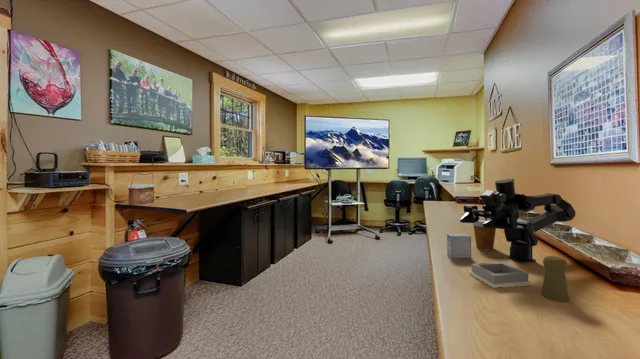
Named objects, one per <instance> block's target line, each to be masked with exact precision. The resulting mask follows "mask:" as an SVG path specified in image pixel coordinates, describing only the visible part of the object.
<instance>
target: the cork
mask: <svg viewBox="0 0 640 359" xmlns="http://www.w3.org/2000/svg"><path fill="white" fill-rule="evenodd" d="M542 263H543V266H544V268H545V270H544V276H543V280H542V287H541V293H540V295H541V297H543V298H544V299H547V300H549V301H553V302H559V303H567V302H569V301H570V295H569V290H568V283H567V277H566V270H567V268H568V262H567V260H566V259H565V258H564V257H561V256H555V255H546V256H544V258H543V259H542Z"/></svg>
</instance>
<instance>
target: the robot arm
mask: <svg viewBox="0 0 640 359" xmlns="http://www.w3.org/2000/svg"><path fill="white" fill-rule="evenodd" d="M494 185H495V190H496V191H495V190H485V191H484V192H482V194H480V196H479V198H480V199H481V201H482V203H483V205H482V209H479V207H478V206H477V205H475V204H466V205H464V206H463V211H464V214H463V216H462V217H461V218H460V219H459V222H460V223H462V224H473V223H474V222H478V220H479V219H480V218H483V219H486V222H485V223H483V227H488V228H496V229H500V230H503V233H504V236H505V239H506V242H508V243H510V246H509V255H507V258H509V259H511V260H513V261H516V262H519V263H529V262H531V263H532V262H536V261H537V260H536V259H534V258H533V247H536V246H537V245H538V242H539V239H538V237H537V236H536V234H535V232H539V231H541V230H542V229H545V228H546V227H547V228H548V226H551V225H553V224H555V223H557V222H559V223H561V222H571V221H572V220H573V219H575V216H576V210H575V209H574V207H573V206H572V204H571V203H570V202H568V201H566V200H565V199H563V198H562V196H561V195H560V194H557V193H543V194H536V195H527V194H524V193H516V188H515V179H514V178H508V179H498V180H495V181H494ZM543 206H544V207H543ZM537 207H543V210H544V211H545V212H543V213H541V214H539V215H537V216H535V217H532V218H530V219H528V220H526V219H519V218H520V213H519V212H520V211H521V212H530V211H531V212H532V211H533V210H535V208H537Z"/></svg>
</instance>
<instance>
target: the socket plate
mask: <svg viewBox="0 0 640 359" xmlns="http://www.w3.org/2000/svg"><path fill="white" fill-rule="evenodd" d="M468 274H469V275H471V276H472V277H474V278H475V279H478V280H479V281H481V282H482V281H483V282H482V283H483V284H486V285H487V284H488V287H491V288H492V287H493V288H492V289H498V288H497V287H503V288H515V286H516V287H524V286H525V287H527V286H528V285H529V286H532V281H530V280H529V272H526V271H525V270H522V269H520V268H518V267H516V266H513V265H511V264H508V263H507V262H504V261H495V262H493V261H491V262H481V263H478V262H477V263H471V270H469V272H468Z"/></svg>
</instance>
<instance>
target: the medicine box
mask: <svg viewBox="0 0 640 359" xmlns="http://www.w3.org/2000/svg"><path fill="white" fill-rule="evenodd" d="M446 254H447V255H446V256H448V257H449V258H450V259H471V258H472V236H471V235H469V234H468V233H447V234H446Z"/></svg>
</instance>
